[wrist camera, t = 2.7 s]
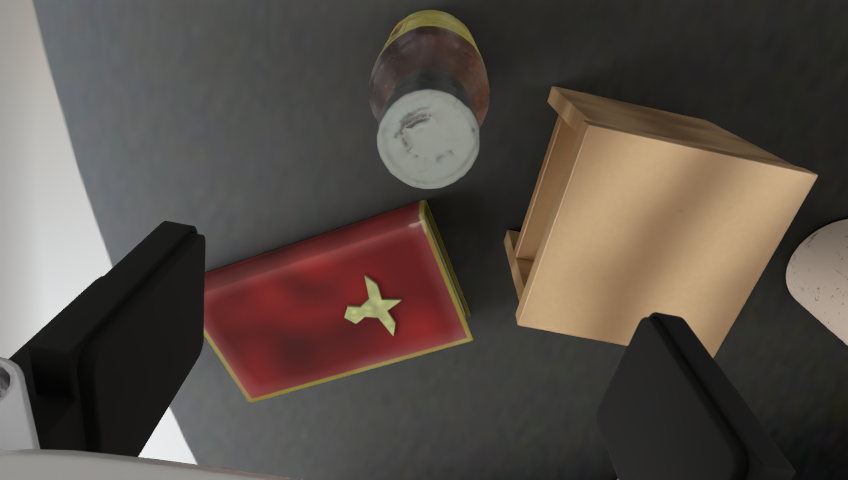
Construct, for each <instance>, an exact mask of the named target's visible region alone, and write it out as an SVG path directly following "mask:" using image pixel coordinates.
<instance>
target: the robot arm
mask: <svg viewBox="0 0 848 480" xmlns="http://www.w3.org/2000/svg"><path fill="white" fill-rule="evenodd" d="M204 292H205V237H204V235H200V234H197V230H196V228H195V226H190V225H185V224H180V223H174V222H169V221H164V222H162V223H161V224H160V225H159V226H158V227H157V228H156V229H155V230H154V231H152V232H151V233H150V234H149V235H148V236H147V237H146V238H145V239H144V240H143V241H142V242H140V243H139V244H138V245H137V246H136V247H135V248H134V249H133V250H132V251H131V252H130V253H129V254H127V255H126V256H125V257H124V258H123V259H122V260H121V261H120V262H119V263H118V264H117V265H115V266H114V267H113V268H112V269H111V270H110V271H109V272H108V273H107V274H106V275H105V276H102V277H100V278H98V279H97V280H95V281H94V282H93V283H92V284H91V285H90V286H89V287H87V288H86V289H85V290H84V291H83V292H82V293H81V294H80V295H79V296H78V297H76V298H75V299H74V300H73V301H72V302H71V303H70V304H69V305H68V306H67V307H65V308H64V309H63V310H62V311H61V312H60V313H59V314H58V315H57V316H56V317H54V318H53V319H52V320H51V321H50V322H49V323H48V324H47V325H46V326H45V327H43V328H42V329H41V330H40V331H39V332H38V333H37V334H36V335H35V336H34V337H33V338H32V339H30V340H29V341H28V342H27V343H26V344H25V345H24V346H22V347H21V348H20V349H19V350H18V351H17V352H16V353H15V354H14V355H13V356H12V357H10V358H9V359H5V358H1V357H0V480H300V479H293V478H287V477H280V476H273V475H266V474H259V473H252V472H245V471H238V470H231V469H224V468H217V467H210V466H203V465H195V464H188V463H181V462H173V461H166V460H159V459H149V458H141V457H138V456H139V454H140V452H141V451H142V449H143V448H144V446H145V444H146V443H147V441H148V439H149V438H150V436H151V435H152V433H153V431H154V429H155V428H156V426H157V425H158V423H159V421H160V420H161V418H162V417H163V415H164V413H165V411H166V410H167V408H168V407H169V405H170V403H171V402H172V400H173V399H174V397H175V395H176V394H177V392H178V390H179V389H180V387H181V385H182V384H183V382H184V381H185V379H186V377H187V376H188V374H189V372H190V371H191V369H192V367H193V366H194V364H195V362H196V361H197V359H198V357H199V355H200V353H201V350H202V346H203V340H204ZM597 422H598V426H599V428H600V431H601V434H602V437H603V439H604V442H605V445H606V447H607V450H608V453H609V456H610V458H611V461H612V464H613V466H614V469H615V472H616V474H617V477H618V479H617V480H791V478H792V477H793V476H794V475H795V473H796V471H795V470H794V468H793V467H792V466H791V464H790V463H789V462H788V460H787V459H786V458H785V456H784V455H783V453H782V452H781V451H780V449H779V448H778V447H777V445H776V444H775V442H774V441H773V440H772V438H771V437H770V436H769V434H768V433H767V432H766V430H765V429H764V427H763V426H762V425H761V423H760V422H759V421H758V419H757V418H756V416H755V415H754V414H753V412H752V411H751V410H750V408H749V407H748V406H747V404H746V403H745V401H744V400H743V399H742V397H741V396H740V395H739V393H738V392H737V391H736V389H735V388H734V386H733V385H732V384H731V382H730V381H729V380H728V378H727V377H726V375H725V374H724V373H723V371H722V370H721V369H720V367H719V366H718V365H717V363H716V362H715V360H714V359H713V358H712V356H711V355H710V354H709V352H708V351H707V349H706V348H705V347H704V345H703V344H702V343H701V341H700V340H699V339H698V337H697V336H696V334H695V333H694V332H693V330H692V329H691V328H690V326H689V325H688V323H687V322H686V321H685V320H684V319H683V318H682V317H679V316H674V315H668V314H663V313H658V312H654V313H652V314H651V315H649V317H644V318H642V319H641V320H640V322H639V324H638V326H637V328H636V330H635V332H634V334H633V336H632V339H631V341H630V343H629V345H628V347H627V349H626V351H625V353H624V355H623V357H622V359H621V361H620V364H619V366H618V368H617V370H616V372H615V374H614V376H613V378H612V380H611V382H610V384H609V386H608V389H607V391H606V393H605V395H604V397H603V399H602V401H601V403H600V405H599V408H598V412H597Z"/></svg>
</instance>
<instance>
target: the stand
mask: <svg viewBox="0 0 848 480" xmlns="http://www.w3.org/2000/svg"><path fill="white" fill-rule="evenodd" d="M547 102H548V103H549V104H550V105H551V106H552V107H553V108H554V109H555V111H556V112H557V113H558V114H559V115H558V118H557V121H556V124H555V127H554V130H553V133H552V136H551V139H550V142H549V146H548V149H547V152H546V155H545V158H544V161H543V164H542V167H541V170H540V173H539V176H538V179H537V182H536V186H535V189H534V192H533V195H532V198H531V201H530V204H529V207H528V210H527V213H526V216H525V219H524V222H523V226H522V229H521V232H517V231H512V230H507V232H506V236H505V239H504V245H505V249H506V253H507V257H508V261H509V264H510V268H511V272H512V276H513V280H514V284H515V287H516V291H517V295H518V299H519V306H518V308H517V311H516V314H515V315H516V319H517V323H518V325H520V326H526V327H531V328H536V329H541V330H547V331H552V332H557V333H563V334H568V335H573V336H579V337H584V338H589V339H594V340H600V341H605V342H610V343H616V344H621V345H626V346H628V345H629V343H630V341H631V339H632V336H633V334H634V332H635V330H636V328H637V326H638V324H639V322H640V320H641V319H642V318H644V317H649V315H651V314H652V313H654V312H658V313H663V314H668V315H674V316H679V317H682V318H683V319H684V320H685V321H686V322H687V323H688V325H689V326H690V328H691V329H692V330H693V332H694V333H695V334H696V336H697V337H698V339H699V340H700V341H701V343H702V344H703V345H704V347H705V348H706V349H707V351H708V352H709V354H710V355H711V356H712V358H714V356H715V354H716V352H717V351H718V349H719V347H720V345H721V344H722V342H723V340H724V338H725V337H726V335H727V333H728V331H729V330H730V328H731V326H732V324H733V323H734V321H735V319H736V318H737V316H738V314H739V312H740V311H741V309H742V307H743V305H744V304H745V302H746V300H747V298H748V297H749V295H750V293H751V291H752V290H753V288H754V286H755V285H756V283H757V281H758V279H759V278H760V276H761V274H762V272H763V271H764V269H765V267H766V265H767V264H768V262H769V260H770V258H771V257H772V255H773V253H774V251H775V250H776V248H777V246H778V245H779V243H780V241H781V239H782V238H783V236H784V234H785V232H786V231H787V229H788V227H789V225H790V224H791V222H792V220H793V218H794V217H795V215H796V213H797V211H798V210H799V208H800V206H801V205H802V203H803V201H804V199H805V198H806V196H807V194H808V192H809V191H810V189H811V187H812V185H813V184H814V182H815V180H816V178H817V177H818V175H817V174H815V173H813V172H811V171H809V170H807V169H805V168H801V167H796V166H794V165H792V164H790V163H788V162H787V161H785V160H783V159H781V158H779V157H777V156H775V155H773V154H771V153H769V152H767V151H765V150H763V149H761V148H759V147H757V146H755V145H753V144H751V143H750V142H748V141H746V140H744V139H742V138H740V137H738V136H736V135H734V134H732V133H730V132H728V131H726V130H724V129H722V128H720V127H718V126H716V125H714V124H713V123H711V122H709V121H707V120H702V119H698V118H693V117H689V116H685V115H680V114H676V113H671V112H667V111H662V110H658V109H653V108H649V107H645V106H640V105H636V104H631V103H627V102H622V101H618V100H613V99H609V98H604V97H600V96H596V95H591V94H587V93H582V92H578V91H573V90H569V89H564V88H560V87H556V86H552V88H551V91H550V95H549V98H548V101H547Z"/></svg>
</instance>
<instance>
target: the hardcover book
mask: <svg viewBox="0 0 848 480" xmlns="http://www.w3.org/2000/svg"><path fill="white" fill-rule="evenodd" d="M468 316H471V313H470V311H469V308H468V306H467V303H466V300H465V298H464V295H463V293H462V290H461V288H460V285H459V283H458V280H457V277H456V275H455V272H454V270H453V267H452V265H451V262H450V260H449V257H448V254H447V252H446V249H445V247H444V244H443V242H442V239H441V237H440V234H439V231H438V229H437V226H436V224H435V221H434V219H433V216H432V214H431V211H430V208H429V206H428V203H427V201H426V200H422V201H419V202H416V203H413V204H410V205H407V206H404V207H401V208H398V209H395V210H392V211H389V212H386V213H383V214H380V215H377V216H374V217H371V218H368V219H365V220H362V221H359V222H356V223H353V224H350V225H347V226H344V227H341V228H338V229H335V230H332V231H329V232H326V233H323V234H320V235H317V236H314V237H311V238H308V239H305V240H302V241H299V242H296V243H293V244H290V245H287V246H284V247H281V248H278V249H275V250H272V251H269V252H266V253H263V254H260V255H257V256H255V257H252V258H249V259H246V260H243V261H240V262H237V263H234V264H231V265H228V266H225V267H222V268H219V269H216V270H213V271H210V272H207V273H205V292H204V336H205V337H206V339H207V340H208V342H209V343H210V345H211V346H212V348H213V349H214V351H215V352H216V354H217V355H218V357H219V358H220V360H221V361H222V363H223V364H224V365H225V367H226V368H227V370H228V371H229V373H230V374H231V376H232V377H233V379H234V380H235V382H236V383H237V385H238V386H239V388H240V389H241V391H242V392H243V394H244V395H245V397H246V398H247V400H248V401H249V403H252V402H256V401H259V400H263V399H266V398H270V397H273V396H277V395H280V394H284V393H288V392H291V391H295V390H298V389H302V388H305V387H309V386H312V385H316V384H320V383H323V382H327V381H330V380H334V379H337V378H341V377H344V376H348V375H352V374H355V373H359V372H362V371H366V370H369V369H373V368H376V367H380V366H384V365H387V364H391V363H394V362H398V361H401V360H405V359H408V358H412V357H416V356H419V355H423V354H426V353H430V352H433V351H437V350H440V349H444V348H448V347H451V346H455V345H458V344H462V343H465V342H469V341H472V340H473V336H472V333H471V331H470V328H469V326H468V323H467V321H466V317H468Z"/></svg>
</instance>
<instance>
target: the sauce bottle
mask: <svg viewBox="0 0 848 480" xmlns="http://www.w3.org/2000/svg"><path fill="white" fill-rule="evenodd" d="M489 92H490V86H489V83H488V78H487V72H486V68H485V65H484V62H483V60H482V57H481V55H480V53H479V51H478V48H477V46H476V44H475V42H474V40H473V38H472V35H471V34H470V32H469V30H468V28H467V27H466V26H465V25H464V24H463V23H462V22H461V21H459V20H458V19H457V18H455V17H454V16H452V15H450V14H448V13H446V12H443V11H437V10H423V11H419V12H415V13H413V14H411V15H409V16H407V17H406V18H404V19H403V20H402V21H400V22H399V23H398V24H397V26H396V27H395V28H394V30H393V31H392V33H391V35H390V37H389V39H388V40H387V42H386V44H385V45H384V47H383V50H382V51H381V53H380V55H379V57H378V59H377V61H376V62H375V65H374V68H373V71H372V74H371V77H370V83H369V99H370V105H371V108H372V111H373V114H374V116H375V118H376V119H377V121H378V127H377V135H376V141H377V148H378V151H379V154H380V157H381V159H382V161H383V163H384V164H385V166H386V167H387V169H388V171H389V172H390V173H391V174H392V175H394V176H395V177H396V178H398V179H399V180H401V181H402V182H404V183H406V184H408V185H410V186H413V187H419V188H422V189H436V188H441V187H445V186H447V185H450V184H452V183H454V182H456V181H457V180H459V179H460V178H461V177H463V176H465V175H466V173H467V171H468V170H469V169H470V168H471V167H472V165H473V164H474V162H475V160H476V158H477V156H478V152H479V149H480V140H481V138H480V126H481V125H482V123H483V121H484V118H485V116H486V114H487V111H488V106H489V98H490V93H489Z"/></svg>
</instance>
